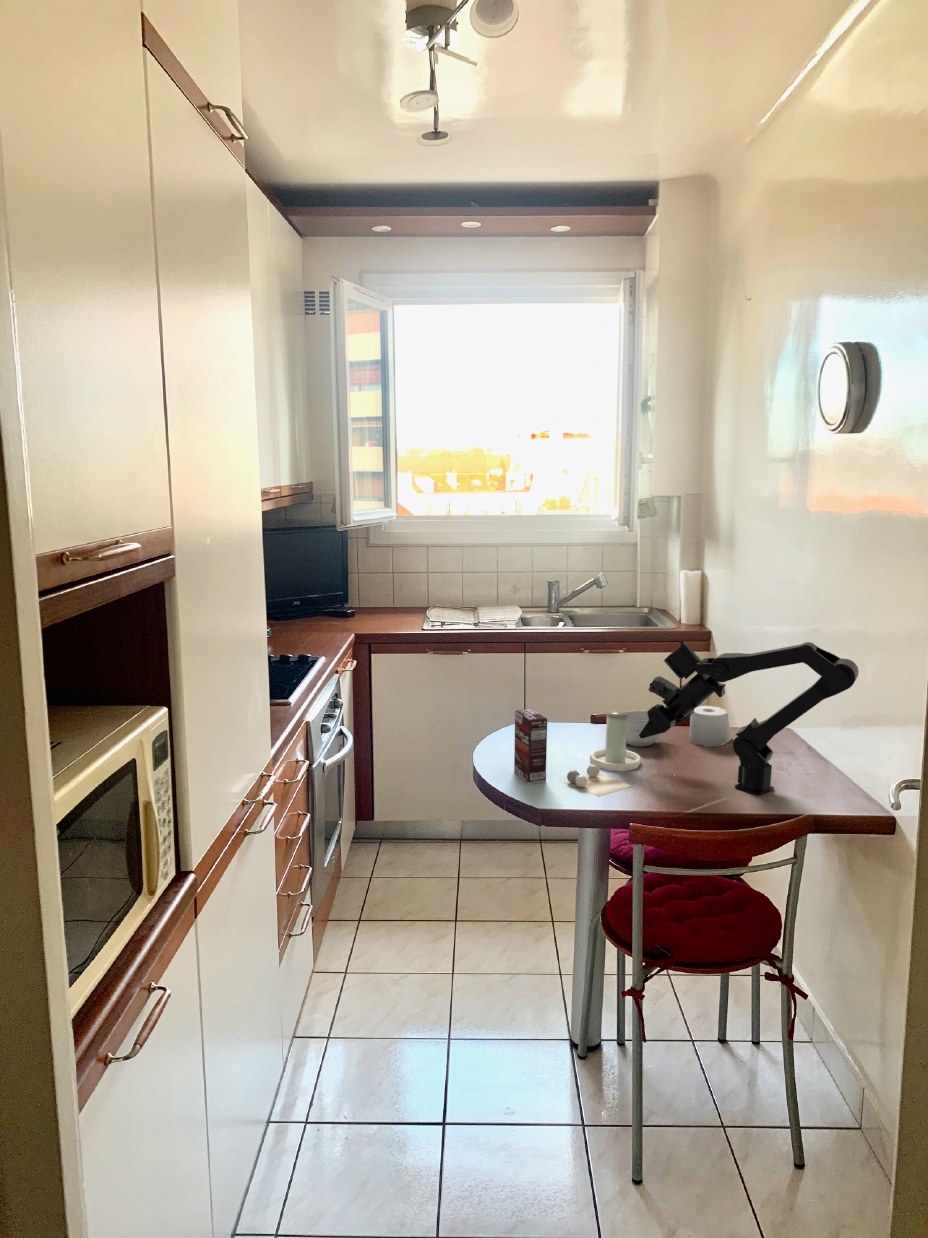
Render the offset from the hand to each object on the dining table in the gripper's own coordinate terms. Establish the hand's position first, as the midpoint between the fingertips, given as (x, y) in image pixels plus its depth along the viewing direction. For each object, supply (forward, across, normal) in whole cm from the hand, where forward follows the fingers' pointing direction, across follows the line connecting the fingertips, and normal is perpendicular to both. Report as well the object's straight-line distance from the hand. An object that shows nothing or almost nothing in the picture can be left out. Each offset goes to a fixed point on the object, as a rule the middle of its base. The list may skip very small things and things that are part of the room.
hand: (647, 733), depth 213 cm
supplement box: (+22, +21, -8) cm, 31 cm away
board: (+11, +16, +3) cm, 20 cm away
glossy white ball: (+12, +13, 0) cm, 18 cm away
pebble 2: (+12, +20, +1) cm, 24 cm away
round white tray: (+12, 0, +1) cm, 12 cm away
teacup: (+12, -20, 0) cm, 23 cm away
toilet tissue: (+1, -32, +11) cm, 33 cm away
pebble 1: (+14, +19, -1) cm, 24 cm away
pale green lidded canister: (+12, 0, 0) cm, 12 cm away
